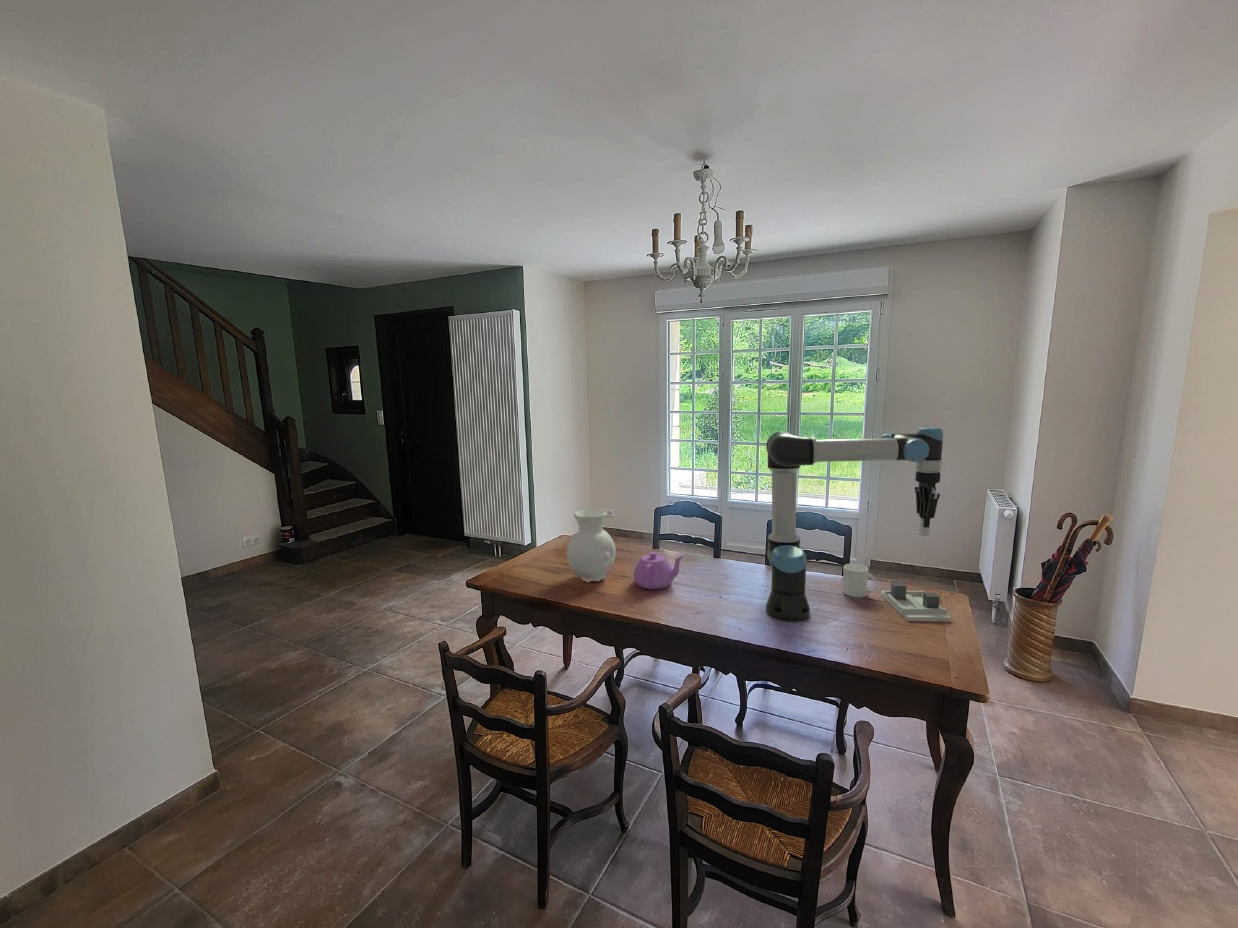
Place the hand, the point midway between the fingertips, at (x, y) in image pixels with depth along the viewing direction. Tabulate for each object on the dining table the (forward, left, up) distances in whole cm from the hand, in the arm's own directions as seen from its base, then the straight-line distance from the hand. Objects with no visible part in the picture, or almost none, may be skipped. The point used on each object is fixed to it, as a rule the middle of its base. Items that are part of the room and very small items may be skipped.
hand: (924, 535), depth 182 cm
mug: (-19, +8, -27) cm, 33 cm away
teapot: (-97, +17, -27) cm, 102 cm away
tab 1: (-7, +2, -25) cm, 26 cm away
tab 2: (0, -8, -25) cm, 26 cm away
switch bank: (-4, -3, -26) cm, 27 cm away
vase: (-126, +23, -27) cm, 130 cm away
